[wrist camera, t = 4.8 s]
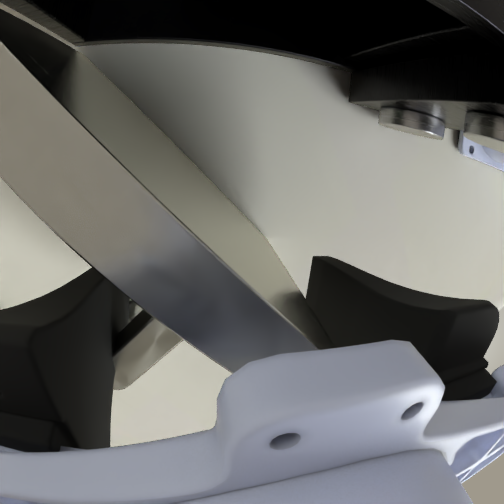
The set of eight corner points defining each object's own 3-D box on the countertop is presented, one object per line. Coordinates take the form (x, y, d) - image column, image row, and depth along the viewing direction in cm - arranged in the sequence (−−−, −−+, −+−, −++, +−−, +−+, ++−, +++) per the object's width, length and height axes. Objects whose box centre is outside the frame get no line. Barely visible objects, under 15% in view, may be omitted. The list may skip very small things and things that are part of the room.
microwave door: (173, 323, 17) (174, 489, 8) (-1, 164, 12) (-145, 228, 3) (267, 238, 16) (357, 381, 7) (83, 54, 11) (-48, -14, 2)
